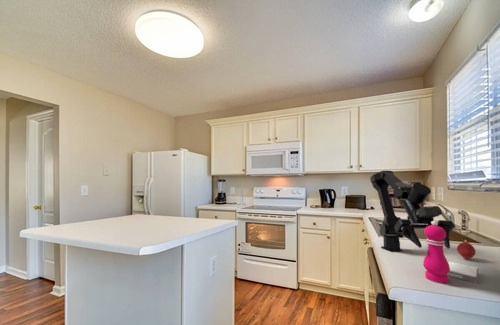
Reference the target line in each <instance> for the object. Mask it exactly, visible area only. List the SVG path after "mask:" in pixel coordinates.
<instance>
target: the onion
mask: <svg viewBox="0 0 500 325" xmlns="http://www.w3.org/2000/svg"><path fill="white" fill-rule="evenodd" d="M456 250H457V252H458V254H459V255H460V256H461V257H462V258H463V259H465V260H469V259H471V258H473V257H474V256H475V255H476V253H477V252H476V249H475V248H474V246H473V245H472V244H471V243H469V242H468V241H467V240H466V239H464V240H463V242H460V243H459V244H458V245H457V246H456Z"/></svg>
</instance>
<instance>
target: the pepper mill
mask: <svg viewBox="0 0 500 325" xmlns="http://www.w3.org/2000/svg"><path fill="white" fill-rule="evenodd" d="M431 224H432V225H430V226H427V227H426V228H425V229H423V230H424V232H423V233H424V235H425V236H426V241H425V242H426V243H427V247H428V248H427V253H426V255H425V256H424V258H423V268H425V271H424V276H425V279H427V280H429V281H431V282H435V283H438V284H447V283H449V276H447V275H446V274H447V273H449V271H450V267H449V264H448V260H447V258H446V257H445V253H444V247H445V244H444V242H445V241H444V240H443V239H445V238H446V232H445V230H444V229H443V228H442V227H440V226H437V225H438V221H437V220H433V221H432V222H431Z"/></svg>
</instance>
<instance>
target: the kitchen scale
mask: <svg viewBox="0 0 500 325" xmlns="http://www.w3.org/2000/svg"><path fill="white" fill-rule="evenodd" d="M447 261H448V260H447ZM448 264H449V267H450V271H449V273H447V274H446V275H447V276H448V278H449V277H450V278H454V279H458V280H461V281H465V282H469V283H474V284H477V283H478V277H479V268H478V267H476V266H472V265H466V264H463V263H457V262H453V261H448Z"/></svg>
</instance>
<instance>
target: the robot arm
mask: <svg viewBox="0 0 500 325" xmlns="http://www.w3.org/2000/svg"><path fill="white" fill-rule="evenodd" d="M370 183H371V185H372V187H373V188H374V190H376V191H377V194H378V198H379V201H380V202H379V203H380V205H381V206H380V207H381V210H382V214H383V220H382V221H381V222H382V223H381V227H380V229H379V231H378V232H379V235H380V236H381V237H383V245H382V246H381V249H384V250H386V251H388V252H393V253H394V252H402V251H403V249H401V241H400V238H401V239H402V238H404V237H406V238H407V239H408V240H409V241H411V242H412V243H413V244H414V245H416V246H417V247H418V248H419V249H421V248H422V243H421V240H420V239H419V236H418V235H417V232H416V231H415V229H416V230H417V229H418V230H425V228H426V227H427V226H430V225H432V221H435V218H436V217H439V216H441V215H442V214H443V212H442V209H441V207H440V206H439V205H433V206H422V205H423V204H424V203H425V202H426V200H427V199H428V197H429V196H430V194H431V193H432V190H431V188H430V187H428V186H427V185H425V184H422V183H421V182H420V181H419V182H418V181H415V182H414V183H413V184H412V185H410V184H408V183H405V182H403V181H402V180H401V179H400V178H398V177H397V176H396V175H395V174H394V171H392V170H380V171H379V172H377V173H374V174H372V175H371V176H370ZM389 186H390V187H391V189H392V190H393V192H392V193H393V195H394V198H395V199H397V200H402V202H401V203H402V204H401V207H400V208H401V209H402V210H403V209H404V210H405V212H406V214H407V217H406V218H401V217H399V216H397V215H396V214H395V209H394V206H393V203H392V199H391V197H390V193H389ZM421 204H422V205H421ZM437 223H438V225H437V226H440V227H442V228H443V229H444V230H445V232H446V238H445V239H443V240H444V241H445V242H444V244H445V245H444V247H446V249H450V248H451V245H450V243H451V242H450V235H449V234H450V233H451V232H452V231H453V229H455V227H456V225H455V223H454V222H453V220H449V219H447V220H446V219H439V220H438V221H437Z"/></svg>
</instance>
